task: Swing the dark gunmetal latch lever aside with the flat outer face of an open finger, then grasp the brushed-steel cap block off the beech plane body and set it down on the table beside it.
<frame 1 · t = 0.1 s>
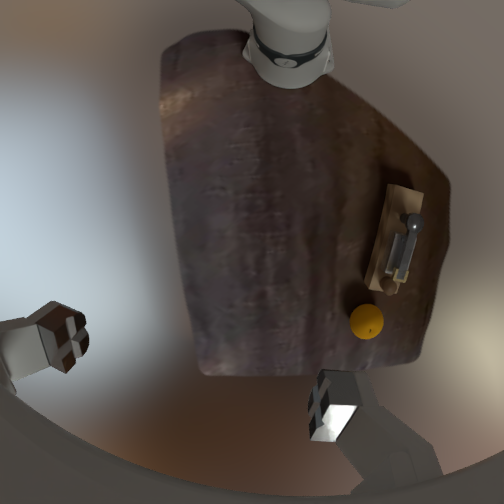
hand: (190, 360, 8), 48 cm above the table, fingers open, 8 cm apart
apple: (362, 313, 59), on the table
lever: (407, 247, 45), point 9 cm above the table, hinge at 0.0°
lever cap: (395, 251, 50), point 4 cm above the table, touching plane body
plane body: (390, 237, 53), on the table
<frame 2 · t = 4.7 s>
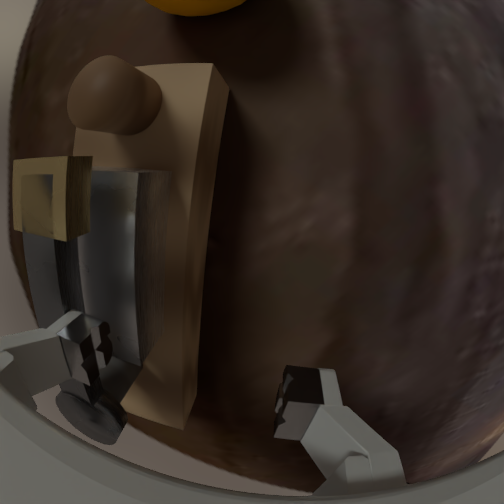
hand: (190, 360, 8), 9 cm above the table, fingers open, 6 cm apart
lever: (65, 336, 8), point 9 cm above the table, hinge at 0.7°, touching gripper
lever cap: (120, 250, 12), point 4 cm above the table, touching plane body
plane body: (152, 262, 17), on the table
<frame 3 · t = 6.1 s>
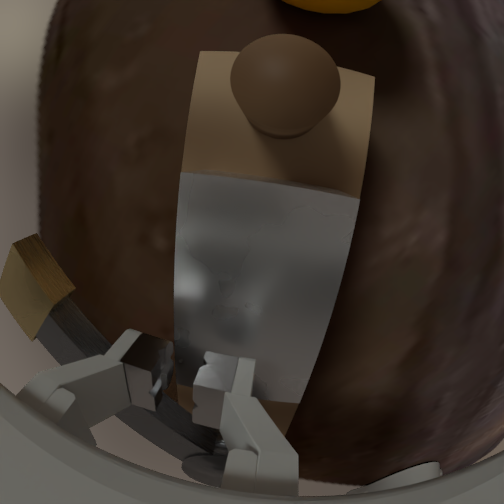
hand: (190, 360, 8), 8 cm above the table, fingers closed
lever: (135, 402, 8), point 9 cm above the table, hinge at 47.3°, touching gripper
lever cap: (256, 276, 11), point 4 cm above the table, touching plane body
plane body: (256, 280, 16), on the table
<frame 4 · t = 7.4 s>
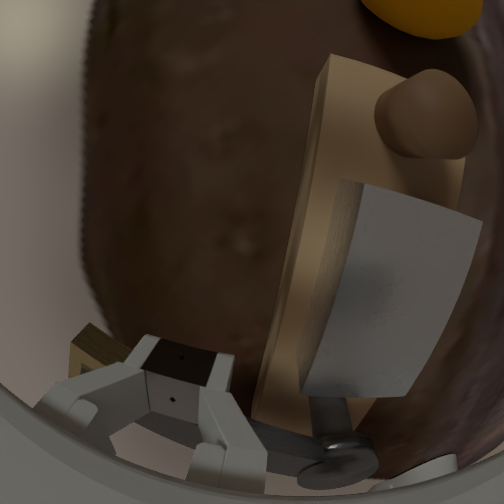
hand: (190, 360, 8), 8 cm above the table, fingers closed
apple: (393, 4, 9), on the table
lever: (239, 441, 8), point 9 cm above the table, hinge at 69.1°, touching gripper
lever cap: (371, 282, 11), point 4 cm above the table, touching plane body
plane body: (339, 284, 15), on the table
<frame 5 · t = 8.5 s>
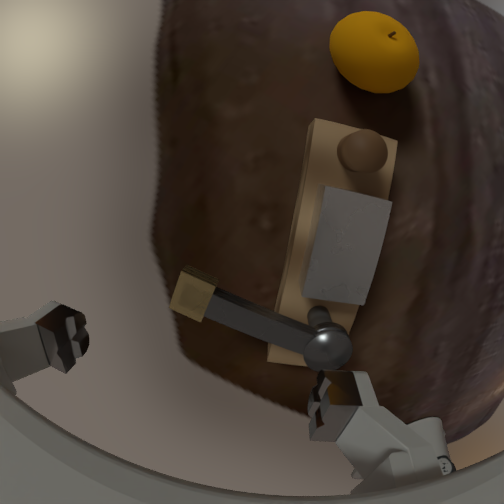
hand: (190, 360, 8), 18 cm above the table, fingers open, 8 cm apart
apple: (362, 64, 20), on the table
lever: (267, 325, 18), point 9 cm above the table, hinge at 74.8°
lever cap: (338, 239, 21), point 4 cm above the table, touching plane body
plane body: (324, 248, 25), on the table
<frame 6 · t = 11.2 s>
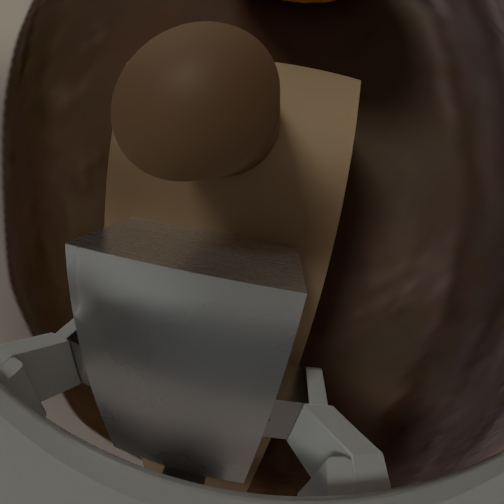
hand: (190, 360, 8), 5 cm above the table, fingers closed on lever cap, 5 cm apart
lever cap: (197, 345, 9), point 4 cm above the table, touching gripper, plane body
plane body: (216, 330, 13), on the table
when the fingers open (3 cm above the table, at t = 17.3 s): lever cap drops 2 cm, on the table.
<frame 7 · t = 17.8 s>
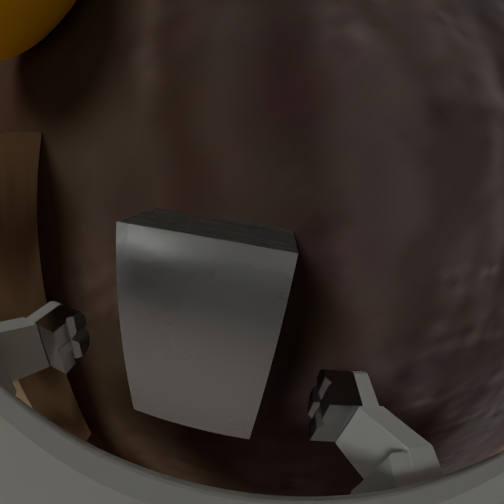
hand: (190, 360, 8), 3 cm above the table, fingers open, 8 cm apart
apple: (56, 11, 7), on the table
lever cap: (211, 313, 11), on the table
plane body: (20, 314, 12), on the table
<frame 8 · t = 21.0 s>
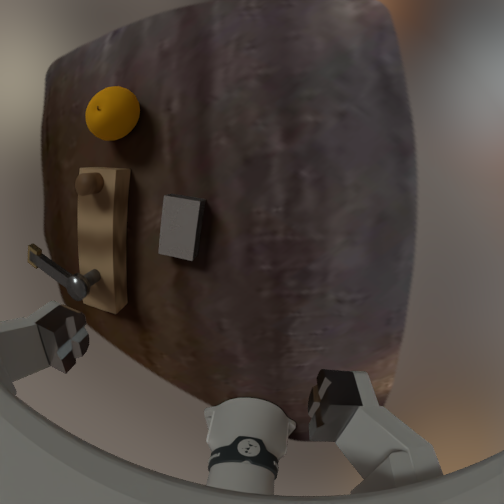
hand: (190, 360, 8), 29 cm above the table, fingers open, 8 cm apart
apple: (125, 116, 33), on the table
lever: (55, 271, 32), point 9 cm above the table, hinge at 74.8°
lever cap: (185, 224, 37), on the table
plane body: (108, 237, 39), on the table
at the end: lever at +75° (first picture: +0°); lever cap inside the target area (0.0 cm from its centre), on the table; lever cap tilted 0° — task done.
